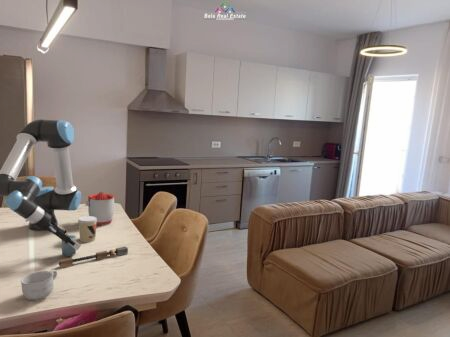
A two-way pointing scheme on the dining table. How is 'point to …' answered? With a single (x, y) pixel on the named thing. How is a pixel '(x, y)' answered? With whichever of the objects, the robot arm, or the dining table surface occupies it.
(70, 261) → the cord rig
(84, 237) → the coffee cup
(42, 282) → the teacup
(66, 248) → the dome-topped knob
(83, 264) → the dining table surface
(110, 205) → the citrus juicer
